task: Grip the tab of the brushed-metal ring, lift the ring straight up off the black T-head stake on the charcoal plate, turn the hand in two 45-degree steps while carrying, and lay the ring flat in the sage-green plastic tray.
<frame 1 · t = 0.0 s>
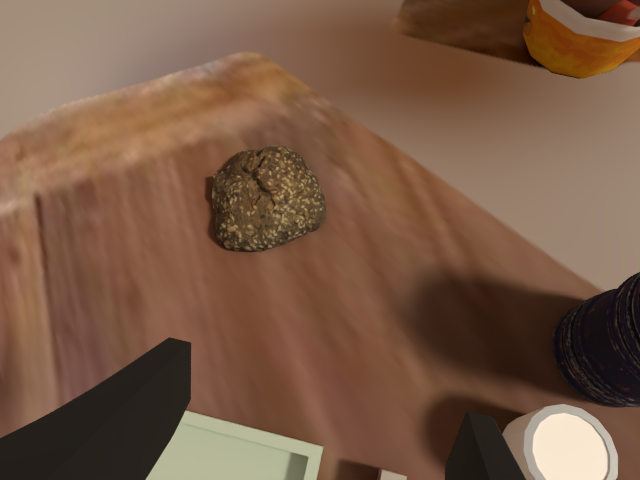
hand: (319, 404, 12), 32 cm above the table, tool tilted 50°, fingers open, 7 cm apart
brown lumpy mound: (266, 199, 51), on the table
shot glass: (532, 450, 41), on the table
storage jar: (602, 354, 44), on the table
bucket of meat: (570, 45, 59), on the table
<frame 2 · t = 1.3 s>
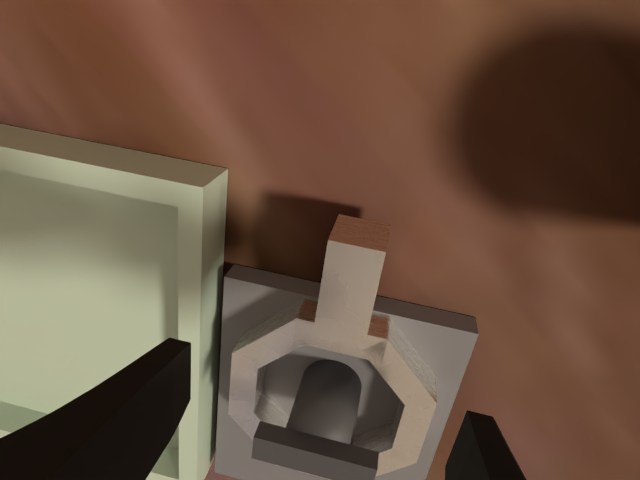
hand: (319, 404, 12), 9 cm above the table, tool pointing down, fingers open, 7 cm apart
tray: (49, 297, 24), on the table
ring: (331, 383, 21), point 1 cm above the table, touching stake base
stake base: (329, 396, 23), on the table
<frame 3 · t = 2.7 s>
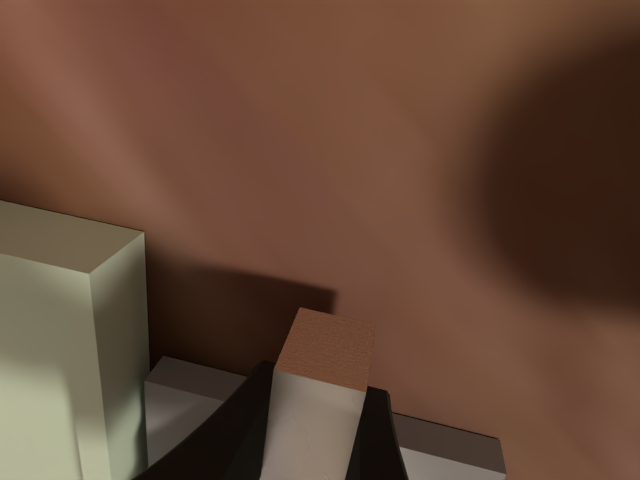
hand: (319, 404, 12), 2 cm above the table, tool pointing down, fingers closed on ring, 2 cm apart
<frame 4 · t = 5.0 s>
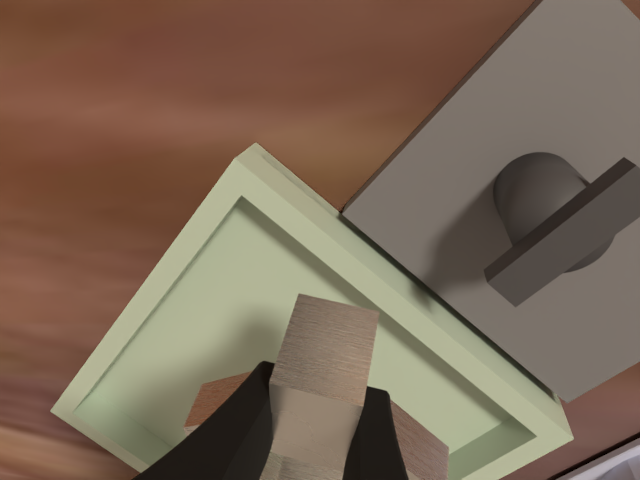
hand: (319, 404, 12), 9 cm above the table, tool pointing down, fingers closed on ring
tray: (289, 386, 24), on the table
ring: (318, 434, 17), point 6 cm above the table, tilted 20°, touching gripper
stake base: (563, 213, 18), on the table
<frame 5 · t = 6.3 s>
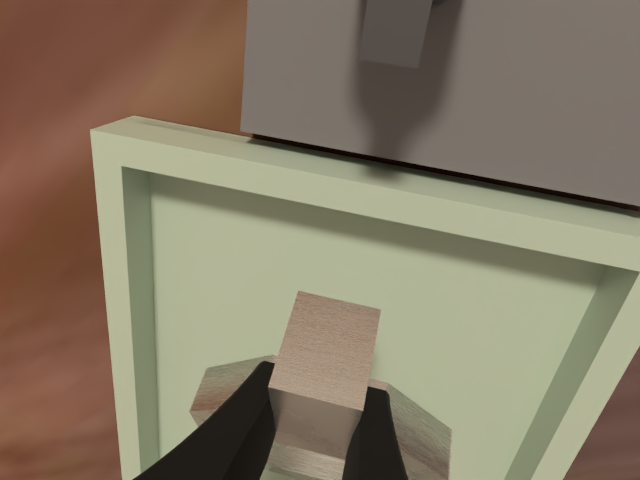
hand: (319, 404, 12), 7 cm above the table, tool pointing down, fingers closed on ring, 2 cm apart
tray: (335, 370, 20), on the table
ring: (323, 414, 17), point 3 cm above the table, tilted 25°, touching gripper
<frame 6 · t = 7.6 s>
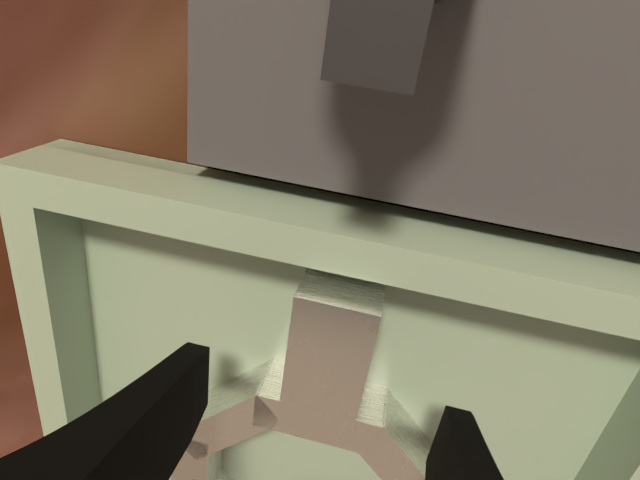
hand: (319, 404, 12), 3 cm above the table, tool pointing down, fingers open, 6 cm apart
tray: (317, 440, 17), on the table
ring: (310, 466, 16), point 1 cm above the table, touching tray
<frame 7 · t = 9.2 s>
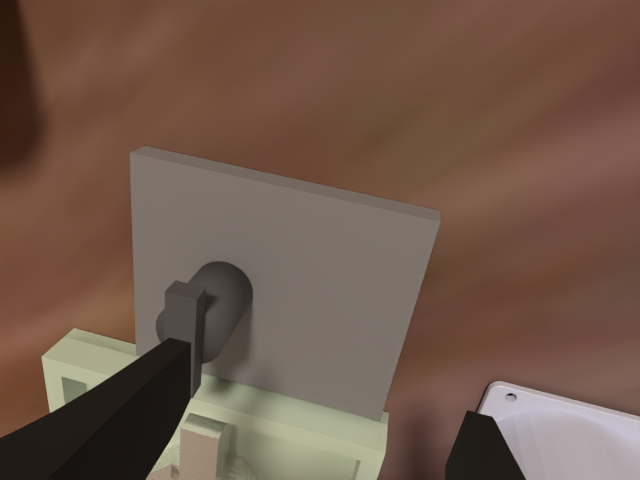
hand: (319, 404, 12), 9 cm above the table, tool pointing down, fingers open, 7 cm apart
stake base: (272, 285, 22), on the table
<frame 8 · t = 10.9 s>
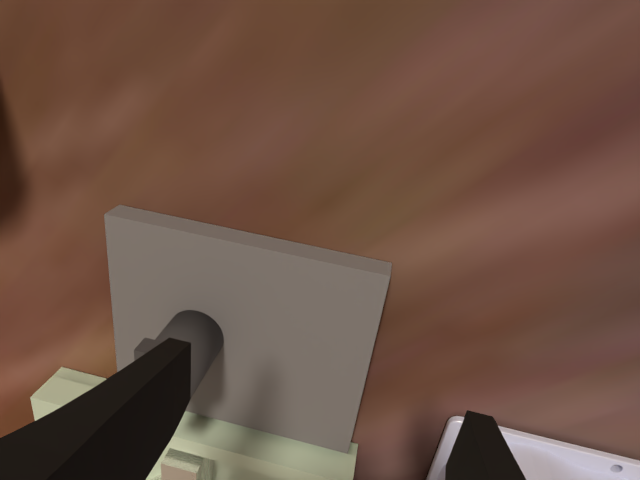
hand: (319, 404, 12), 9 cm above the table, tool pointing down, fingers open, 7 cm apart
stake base: (243, 328, 23), on the table
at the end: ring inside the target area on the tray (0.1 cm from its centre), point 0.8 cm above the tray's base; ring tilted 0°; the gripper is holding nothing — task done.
